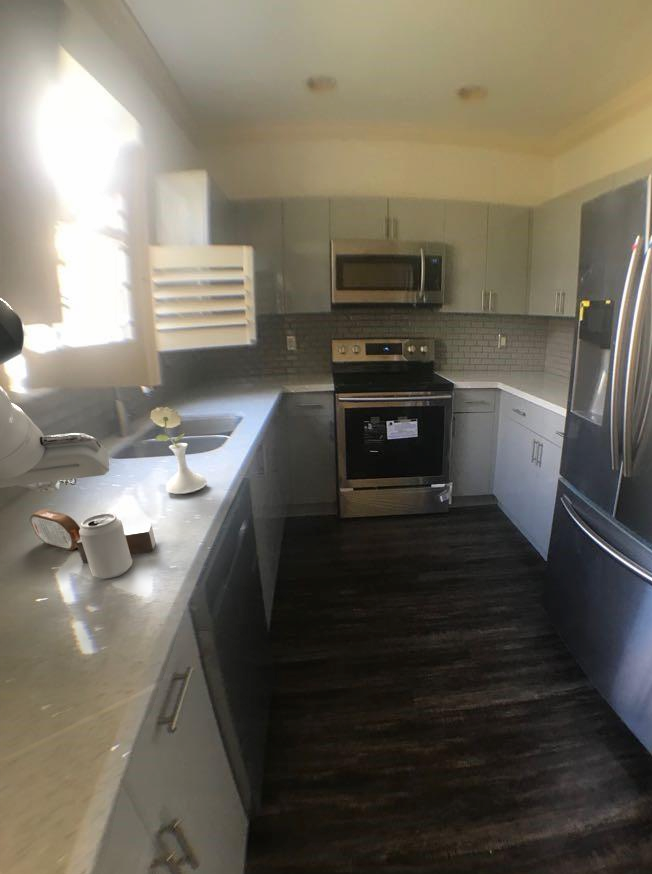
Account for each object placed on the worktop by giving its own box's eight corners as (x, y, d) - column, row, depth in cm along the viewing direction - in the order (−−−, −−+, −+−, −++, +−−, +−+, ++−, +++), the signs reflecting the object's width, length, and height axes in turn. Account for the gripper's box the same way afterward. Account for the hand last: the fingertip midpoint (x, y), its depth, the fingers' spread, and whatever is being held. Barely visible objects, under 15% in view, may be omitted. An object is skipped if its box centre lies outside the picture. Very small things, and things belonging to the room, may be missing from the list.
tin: (89, 548, 105) (78, 515, 101) (75, 555, 102) (64, 521, 99) (48, 536, 111) (37, 505, 107) (35, 542, 108) (23, 510, 105)
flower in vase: (215, 483, 140) (200, 402, 131) (192, 498, 130) (174, 412, 120) (178, 481, 143) (161, 402, 134) (153, 495, 133) (133, 410, 124)
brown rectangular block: (82, 563, 98) (76, 543, 97) (87, 554, 102) (81, 534, 100) (153, 551, 102) (148, 531, 100) (155, 543, 106) (151, 523, 104)
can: (88, 571, 95) (72, 519, 91) (127, 557, 100) (113, 507, 96) (98, 585, 90) (81, 531, 86) (138, 570, 95) (124, 518, 91)
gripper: (91, 414, 63) (122, 460, 75) (-94, 430, 57) (-28, 477, 69) (92, 454, 60) (123, 495, 73) (-101, 475, 55) (-31, 515, 67)
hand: (49, 486), depth 71 cm, fingers closed
